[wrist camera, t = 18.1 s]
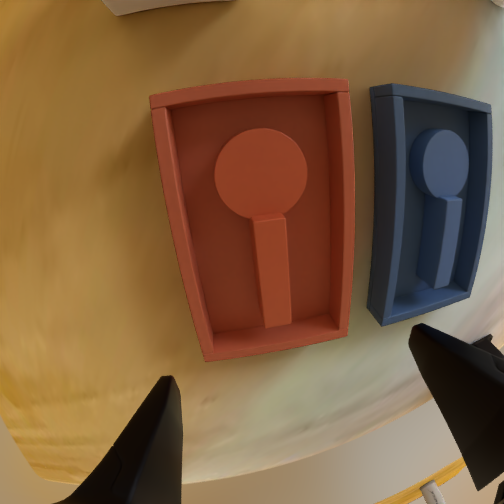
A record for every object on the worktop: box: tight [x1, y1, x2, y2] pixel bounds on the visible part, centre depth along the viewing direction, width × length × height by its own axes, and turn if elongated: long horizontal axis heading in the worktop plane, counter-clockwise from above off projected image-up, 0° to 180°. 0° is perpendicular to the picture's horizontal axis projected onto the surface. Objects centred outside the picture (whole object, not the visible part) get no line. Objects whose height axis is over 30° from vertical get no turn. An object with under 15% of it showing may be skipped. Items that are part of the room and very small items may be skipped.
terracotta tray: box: [149, 78, 355, 362], centre depth 16 cm, size 15×9×2 cm, turn 6°
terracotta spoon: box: [214, 128, 307, 328], centre depth 15 cm, size 11×5×2 cm, turn 6°
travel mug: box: [420, 480, 446, 504], centre depth 55 cm, size 6×7×20 cm
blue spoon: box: [409, 128, 469, 289], centre depth 16 cm, size 11×5×2 cm, turn 6°
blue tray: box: [367, 83, 492, 327], centre depth 16 cm, size 15×9×2 cm, turn 6°
